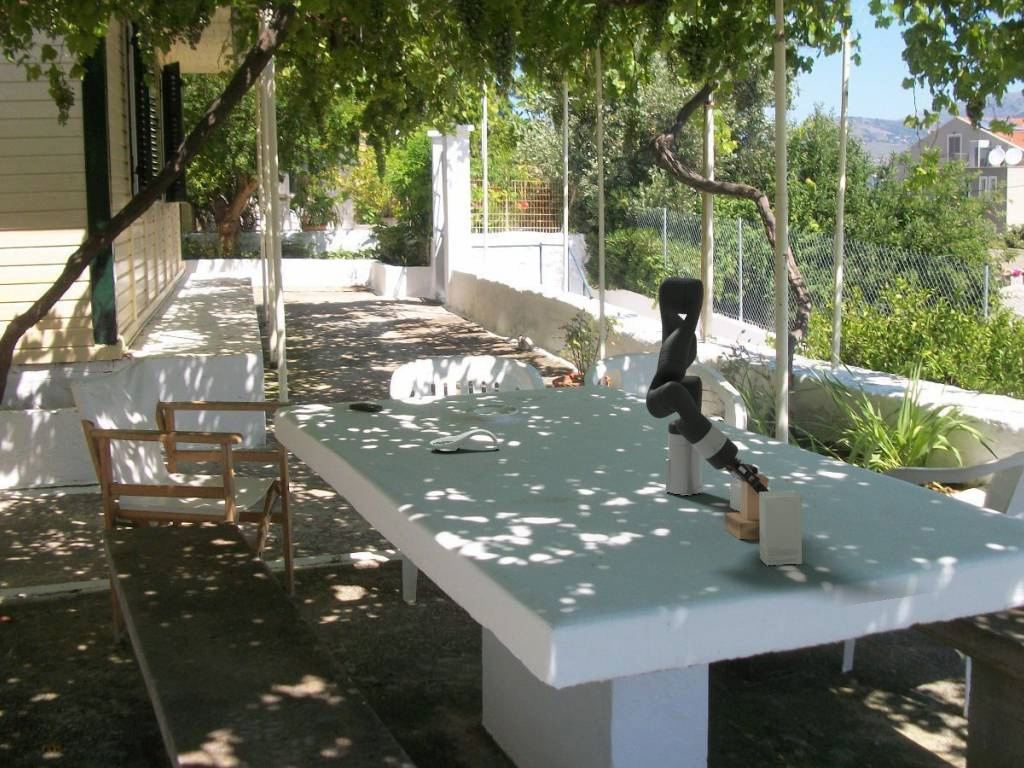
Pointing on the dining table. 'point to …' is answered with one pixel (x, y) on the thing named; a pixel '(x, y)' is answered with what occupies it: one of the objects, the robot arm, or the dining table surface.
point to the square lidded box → (751, 499)
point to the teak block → (742, 526)
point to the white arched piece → (462, 438)
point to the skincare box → (780, 527)
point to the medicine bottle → (739, 489)
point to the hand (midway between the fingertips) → (759, 490)
